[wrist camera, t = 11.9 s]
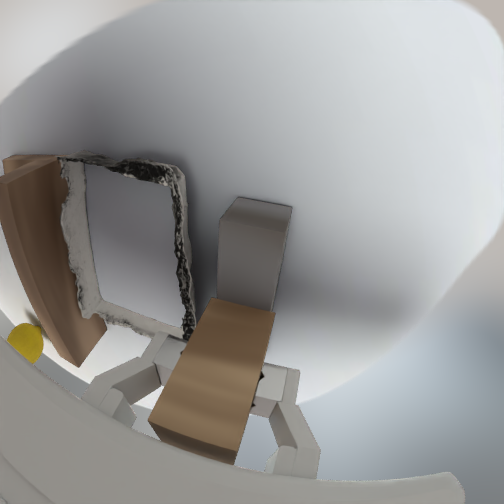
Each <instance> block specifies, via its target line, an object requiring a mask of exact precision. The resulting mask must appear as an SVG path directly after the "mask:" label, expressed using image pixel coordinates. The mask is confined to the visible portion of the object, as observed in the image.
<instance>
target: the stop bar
mask: <svg viewBox="0 0 504 504" xmlns="http://www.w3.org/2000/svg"><path fill="white" fill-rule="evenodd" d="M54 156H58V155H13V156H10V157H8V158H6V159H4V160H3V168H4V174H5V175H3V176H1V177H0V221H1V225H2V229H3V232H4V235H5V239H6V242H7V245H8V248H9V251H10V254H11V257H12V259H13V262H14V265H15V267H16V270H17V273H18V275H19V278H20V280H21V282H22V285H23V287H24V289H25V292H26V294H27V296H28V298H29V300H30V303H31V305H32V307H33V309H34V311H35V313H36V315H37V317H38V319H39V321H40V322H41V324H42V326H43V328H44V330H45V332H46V333H47V335H48V337H49V339H50V340H51V342H52V344H53V345H54V347H55V349H56V350H57V352H58V354H59V355H60V356H61V357H62V358H64V359H65V360H67V361H68V362H70V363H72V364H73V365H75V366H76V367H78V368H79V367H80V366H81V364H82V363H83V362H84V360H85V359H86V357H87V356H88V355H89V353H90V352H91V351H92V349H93V348H94V346H95V345H96V344H97V342H98V341H99V340H100V338H101V337H102V336H103V334H104V333H105V332H106V331H107V328H106V325H105V323H104V320H103V318H100V316H99V314H98V313H93V314H92V315H91V317H90V318H89V319H87V318H83V317H82V313H81V309H80V308H79V304H78V297H77V293H78V287H77V286H76V285H75V282H76V280H77V277H76V273H73V272H72V271H71V270H70V266H69V257H68V252H69V249H68V243H66V241H65V240H64V235H63V232H62V228H61V225H60V215H61V211H62V208H61V207H62V204H63V203H64V202H65V200H66V198H67V194H68V192H69V189H68V183H67V181H66V178H65V177H64V178H63V179H62V178H61V176H60V172H61V162H60V161H59V160H57V157H54ZM59 156H60V157H61V156H67V155H59ZM58 162H59V163H58Z"/></svg>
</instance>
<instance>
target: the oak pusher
mask: <svg viewBox="0 0 504 504" xmlns="http://www.w3.org/2000/svg"><path fill="white" fill-rule="evenodd" d="M291 212H292V207H287V206H282V205H277V204H272V203H266V202H261V201H256V200H250V199H244V198H239V197H238V198H237V199H236V200H235V201H234V203H233V204H232V205H231V206H230V207H229V209H228V210H227V211H226V212H225V214H224V215H223V216H222V217H221V218H220V220H219V241H218V268H217V299H216V298H212V297H211V299H210V301H209V303H208V305H207V307H206V309H205V311H204V312H203V314H202V316H201V318H200V320H199V322H198V324H197V326H196V327H195V329H194V331H193V333H192V335H191V337H190V339H189V341H188V343H187V345H186V346H185V348H184V350H183V352H182V354H181V356H180V358H179V360H178V362H177V364H176V366H175V367H174V369H173V371H172V373H171V375H170V377H169V379H168V381H167V383H166V385H165V387H164V389H163V391H162V393H161V395H160V396H159V398H158V400H157V402H156V404H155V406H154V408H153V410H152V412H151V414H150V416H149V418H148V422H149V424H150V425H151V427H152V428H153V429H154V431H155V433H156V434H157V436H158V437H159V438H160V440H161V441H162V442H164V443H167V444H169V445H172V446H174V447H177V448H180V449H182V450H185V451H188V452H191V453H194V454H197V455H200V456H203V457H206V458H209V459H213V460H216V461H219V462H223V463H227V464H230V465H234V462H235V459H236V456H237V453H238V450H239V447H240V443H241V440H242V437H243V433H244V430H245V426H246V423H247V420H248V417H249V413H250V410H251V406H252V402H253V399H254V396H255V392H256V388H257V384H258V381H259V377H260V374H261V370H262V366H263V363H264V359H265V355H266V351H267V347H268V343H269V339H270V334H271V330H272V326H273V322H274V317H275V313H274V312H272V309H273V304H274V299H275V294H276V290H277V285H278V280H279V275H280V270H281V265H282V260H283V255H284V249H285V244H286V239H287V234H288V228H289V223H290V217H291Z"/></svg>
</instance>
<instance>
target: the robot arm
mask: <svg viewBox="0 0 504 504" xmlns="http://www.w3.org/2000/svg"><path fill="white" fill-rule="evenodd" d="M187 343H188V340H185V339H182V338H179V337H176V336H173V335H171V334H168V333H165V332H163V331H160V330H159V331H158V332H157V333H156V334H155V336H154V337H153V339H152V340H151V342H150V344H149V345H148V347H147V348H146V350H145V351H144V353H143V355H142V356H141V358H140V357H136V358H134V359H132V360H130V361H128V362H126V363H123V364H121V365H119V366H117V367H115V368H113V369H111V370H109V371H106V372H104V373H102V374H100V375H98V376H95V378H94V379H93V381H92V382H91V384H90V385H89V387H88V388H87V390H86V391H85V393H84V394H83V396H82V397H81V399H80V398H78V397H76V396H75V395H73V394H72V393H71V392H69V391H68V390H66V389H65V388H63V387H62V386H61V385H59V384H58V383H56V382H55V381H54V380H52V379H51V378H49V377H48V376H47V375H46V374H44V373H43V372H42V371H41V370H39V369H38V368H37V367H36V366H34V365H33V364H32V363H31V362H30V361H28V360H27V359H26V358H25V357H24V356H23V355H22V354H20V353H19V352H18V351H17V350H16V349H15V348H14V347H13V346H12V345H11V344H10V343H8V342H7V341H6V340H5V339H4V338H3V337H2V336H1V335H0V504H465V492H464V489H463V487H462V486H461V484H460V483H459V481H458V480H457V479H456V478H455V476H454V475H453V474H452V473H450V472H443V473H438V474H432V475H426V476H419V477H412V478H403V479H392V480H375V481H337V480H336V481H335V480H319V479H316V477H317V471H318V465H319V458H320V452H321V450H320V448H319V446H318V444H317V442H316V440H315V438H314V436H313V434H312V432H311V430H310V428H309V426H308V424H307V422H306V420H305V418H304V416H303V414H302V412H301V410H300V407H299V406H298V405H295V403H296V397H297V390H298V384H299V377H300V370H297V369H292V368H287V367H283V366H279V365H274V364H269V363H265V362H264V364H263V367H262V371H261V374H260V378H259V381H258V384H257V388H256V393H255V396H254V399H253V402H252V406H251V410H250V414H254V415H258V416H262V417H266V418H269V422H270V425H271V428H272V430H273V433H274V436H275V439H276V441H277V444H278V447H279V448H278V449H277V450H276V452H275V453H274V454H273V455H272V456H271V457H270V458H269V459H268V460H267V463H266V467H265V470H264V472H261V471H256V470H251V469H247V468H243V467H238V466H234V465H230V464H227V463H223V462H219V461H216V460H213V459H209V458H206V457H203V456H200V455H197V454H194V453H191V452H188V451H185V450H182V449H180V448H177V447H174V446H172V445H169V444H167V443H164V442H162V441H160V440H157V439H155V438H153V437H150V436H148V435H146V434H144V433H142V432H139V431H137V430H135V429H133V428H131V427H132V425H133V423H134V421H135V420H136V414H135V413H134V411H133V409H132V408H131V405H132V404H134V403H136V402H137V401H139V400H140V399H142V398H144V397H145V396H147V395H148V394H150V393H151V392H153V391H154V390H156V389H158V388H159V387H161V385H162V386H165V385H166V383H167V381H168V379H169V377H170V375H171V373H172V371H173V369H174V367H175V366H176V364H177V362H178V360H179V358H180V356H181V354H182V352H183V350H184V348H185V346H186V345H187Z"/></svg>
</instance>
